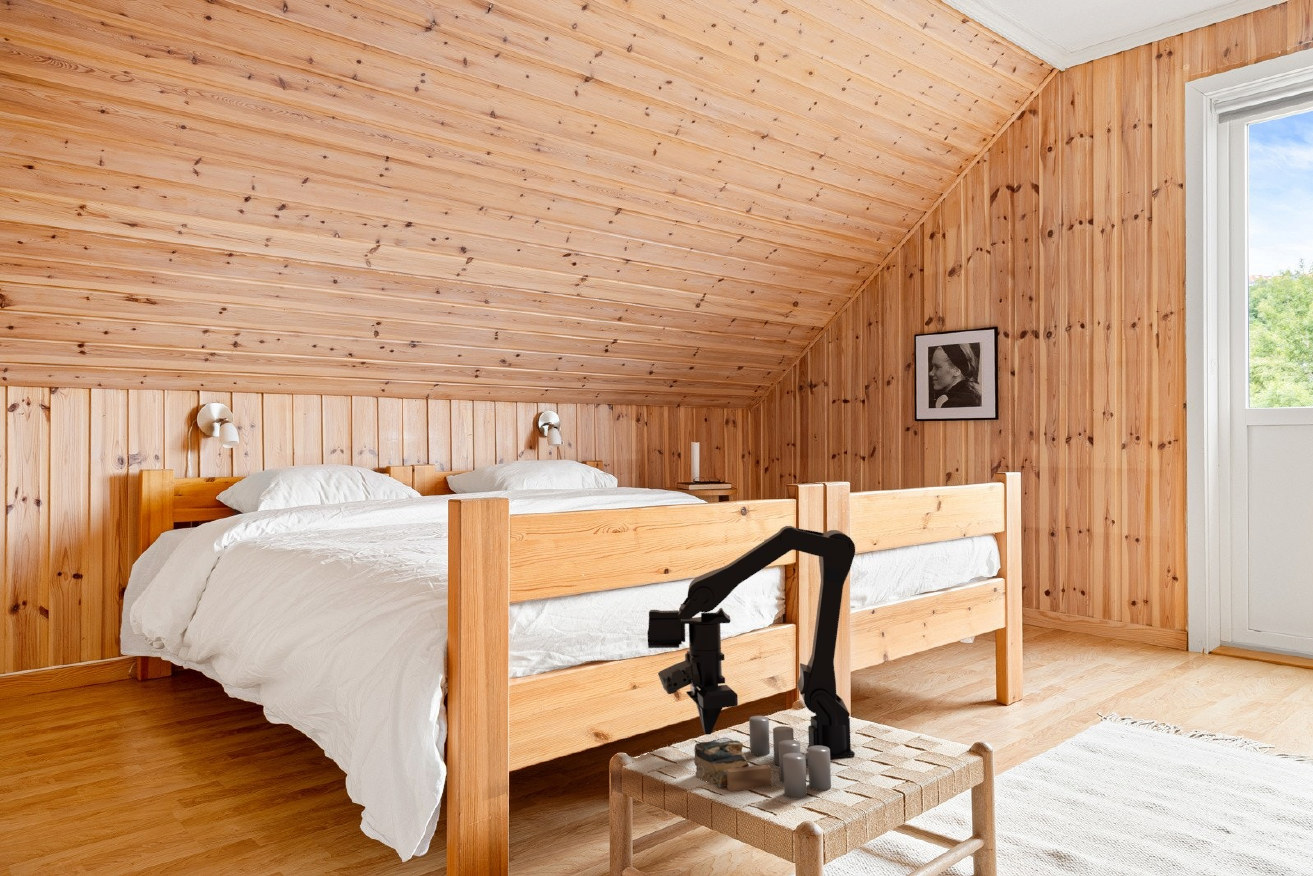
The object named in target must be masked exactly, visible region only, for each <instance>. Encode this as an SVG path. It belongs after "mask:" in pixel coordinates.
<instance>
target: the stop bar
mask: <svg viewBox="0 0 1313 876" xmlns="http://www.w3.org/2000/svg"><path fill="white" fill-rule="evenodd" d="M771 770H772V768H771V766H769V765H768V764H761V765H752V766H749V767H742V768H733V769H727V785H726V787H727V789H728V791H729V792H735V791H743V790H750V789H751V790H752V789H760V788H768V787H772V772H771Z"/></svg>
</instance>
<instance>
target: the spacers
mask: <svg viewBox="0 0 1313 876" xmlns="http://www.w3.org/2000/svg"><path fill="white" fill-rule="evenodd" d="M748 719H749V720H748V723H749V727H748V729H749V753H750V754H752V755H755V756H766V755H770V753H771V752H770V751H771V749H770V747H771V746H770V721H769V720H770V719H769V717H768V716H765V715H753V716H749V718H748ZM794 739H795V738H794V728H793V727H790V726H785V725H784V726H782V725H781V726H779V725H778V726H775V727H774V728H772V740H773V741H772V742H773V743H772V744H773V765H774V766H775V767H777V768H779V780H780V782H782V783H783V795H784V797H786V798H788V799H792V800H799V799H804V798H806V797H807V768H806V767H807V766H806V760H805V755H804V754H803V753H801V742H800V741H798V740H794ZM807 753H808V787H809V788H810V789H811V790H814V791H828V790H830V789H831V788H832V785H831V784H832V780H831V779H832V776H831V775H832V774H831V758H830V749H829V748H828V747H826V746H811V747H809V748H808V747H807Z"/></svg>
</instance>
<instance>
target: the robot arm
mask: <svg viewBox="0 0 1313 876" xmlns="http://www.w3.org/2000/svg"><path fill="white" fill-rule="evenodd" d="M791 551H797V552H802V553H805V554H809V555H813V556H817V557H818V563H819V564H818V565H819V573H820V586H819V593H818V600H817V601H818V602H817V608H816V619H815V623H814V632H813V639H812V648H811V655H810V657H809V660H808V663H807V664H805V663H802V662H800V664H799V679H798V681H797V683H796V685H797V689H798V691H799V694H800V695H801V697H802V700H803V703H804V705H805V707H806V708H807V710H808V711H810V713H812V714H815V715H812V716H810V725H808V726H807V728H808V731H807V732H808V745H807V749H808V748H809V747H811V746H826V747H828V748H829V749H830V759H839V758H845V757H854V756H855V755H856V753H855V751H853V750H852V747H851V720H850V712H849V709H848V707H847V706H846V704H845V702H844V700H843V698H841V696H839V695H838V694H837V683H836V682H837V680H836V671H835V663H834V662H835V654H836V646H837V639H838V631H839V622H840V621H839V620H840V615H841V614H840V613H841V605H842V598H843V590H844V586H845V585H844V584H845V582H846V580H847V577H848V575H849V573H850V572H851V568H852V565H853V562H854V558H855V554H856V545H855V543H854V541H853V540H852V538H851V537H849V536H848V535H847V534H845V533H844V532H843V531H841V530H837V529H830V530H827V531H825V532H820V531H815V530H808V529H804V528H797V527H795V526H792V525H785V526H783V527H782V528H780V529H779V530H778V531H777V532H776V533H775V534H773V535H771V536H770V537H768V538H767V539H765V540H764V541H762V542H760V543H759V544H758V545H756V546H755V547H753V548H752V549H750V550H748V551H747V552H746V553H744V554H742V555H741V556H739V557H738V558H736V559H734V560H733V561H731V562H730V563H729V564H726V565H724V566H722V567H720V568H716V569H712V570H711V571H710V570H709V571H708V572H705V573H703V574H701V575H698V576H696V577H695V578H694V579H692V581H690V583H689V585H688V590H687V597H686V598H685V600H684V601H683V602H682V603H680V607H679V609H677V610H674V609H673V610H659V609H650V610H649V612H648V627H647V628H648V629H647V633H646V634H647V646H648V649H680V647H681V646H680V645H682V644H683V643H686V625H688V642H689V643H688V645H689V650H687V651H686V653H685V655H684V657H685V658H684V659H685V660H683V661H681V662H677V663H675V664H673V665H671V666H668V667H666V668H664V669H662V670H659V672H657V676H658V677H659V680H660V683H661V685H662V688H663V689H664V691H665V692H666V693H667V695H672V694H675V693H676V692H677V691H679V690H681V689H684V688H685V687H687V686H689V685H690V688H689V689H690V691H689V690H688V691H686V692H685V693H686V694H687V695H688V697H689V698H690V699H691V700H692V701H693V702H694V704H696V708H697V712H698V715H699V719H700V722H701V726H702V727H701V728H702V730H703V733H704V734H705V735H706V736H707V735H711V734H712V732H713V730H714V728H715V725H716V724H717V721H718V718H719V716H720V714H721V712H722V710H723V708H733V707H737V706H738V705H739V701H738V700H739V699H738V696H739V695H738V694H737V693H736V692H735V690H733V689H732V688H731V687H730V686H729V685H727V684H726V677H725V676H724V675H723V674H722V673H723V672H722V671H723V669H722V666H723V665H722V662H723V661H725V653H723V652H722V642H721V641H722V639H721V638H722V637H721V635H722V634H721V624H730V623H731V616H730V615H729V614H727V613H726V611H725V610H724V609H723V608H722V607H720V608H719V609H718V610H717V611H716V612H711V611H713V610H715V608H717V607H718V606H719V605H720V604H721V603H722V602H723V601H724V600H726V599H727V597H728V596H729V595H730V594H731V593H732V592H733V591H734V590H735V589H736V588H737V587H738V586H739V585H740V584H741V583H743V582H744V581H746V580H748V579H749V578H751V577H752V576H754V575H755V574H757V573H758V572H760V571H761V570H763V569H764V568H766V567H767V566H769V565H771V564H772V563H773V562H775V561H777V560H779V559H780V558H782V557H783V556H784V555H786V554H788V553H789V552H791ZM699 614H700V616H697V617H695V616H696V615H699Z"/></svg>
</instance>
